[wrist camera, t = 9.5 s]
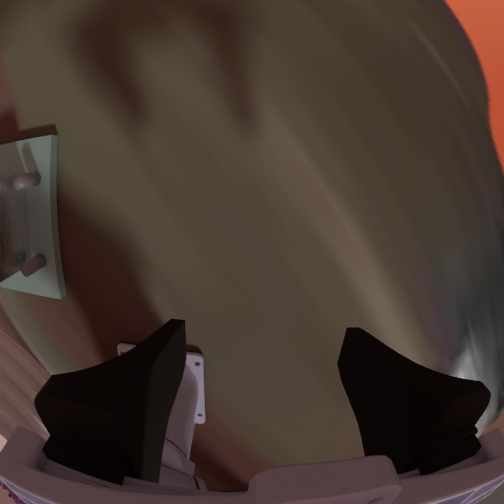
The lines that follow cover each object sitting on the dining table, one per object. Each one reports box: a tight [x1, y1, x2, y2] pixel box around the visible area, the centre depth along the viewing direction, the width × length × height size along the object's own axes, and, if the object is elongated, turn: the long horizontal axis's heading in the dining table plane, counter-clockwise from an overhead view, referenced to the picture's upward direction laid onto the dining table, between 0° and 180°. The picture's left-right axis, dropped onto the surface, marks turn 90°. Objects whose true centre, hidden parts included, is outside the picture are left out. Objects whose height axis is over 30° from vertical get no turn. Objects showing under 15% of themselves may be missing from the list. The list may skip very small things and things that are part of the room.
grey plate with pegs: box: [0, 135, 67, 299], centre depth 18 cm, size 14×10×4 cm
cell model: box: [0, 480, 27, 504], centre depth 32 cm, size 17×20×11 cm
